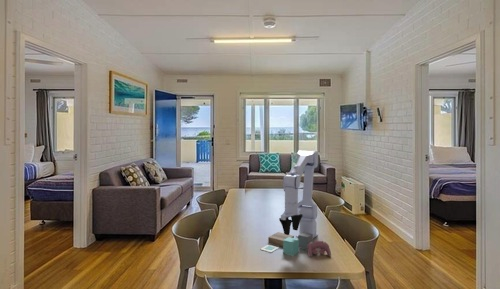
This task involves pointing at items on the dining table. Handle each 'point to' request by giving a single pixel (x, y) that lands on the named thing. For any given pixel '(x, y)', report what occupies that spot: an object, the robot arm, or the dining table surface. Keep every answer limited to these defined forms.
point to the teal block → (290, 246)
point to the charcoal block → (305, 240)
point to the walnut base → (278, 238)
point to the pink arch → (318, 244)
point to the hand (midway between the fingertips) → (291, 232)
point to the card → (269, 248)
